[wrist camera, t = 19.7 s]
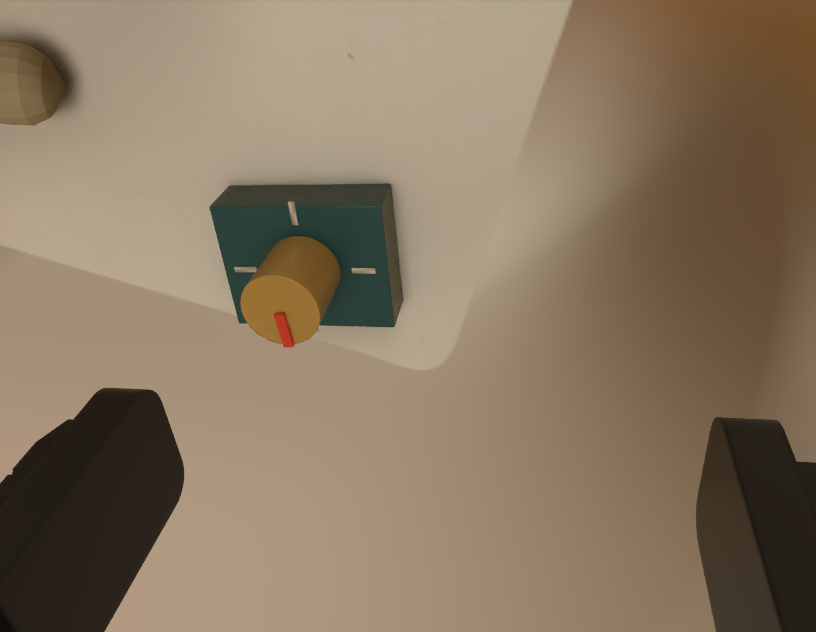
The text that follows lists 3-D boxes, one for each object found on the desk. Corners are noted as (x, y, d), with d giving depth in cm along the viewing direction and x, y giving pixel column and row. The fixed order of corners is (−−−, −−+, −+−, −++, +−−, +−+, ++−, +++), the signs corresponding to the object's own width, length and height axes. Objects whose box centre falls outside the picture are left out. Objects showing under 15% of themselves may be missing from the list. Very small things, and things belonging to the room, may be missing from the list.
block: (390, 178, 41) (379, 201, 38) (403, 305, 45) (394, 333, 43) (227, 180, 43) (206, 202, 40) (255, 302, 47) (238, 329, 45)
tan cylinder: (258, 238, 41) (227, 280, 37) (331, 232, 40) (307, 275, 36) (279, 303, 43) (251, 349, 39) (348, 299, 42) (327, 346, 38)
